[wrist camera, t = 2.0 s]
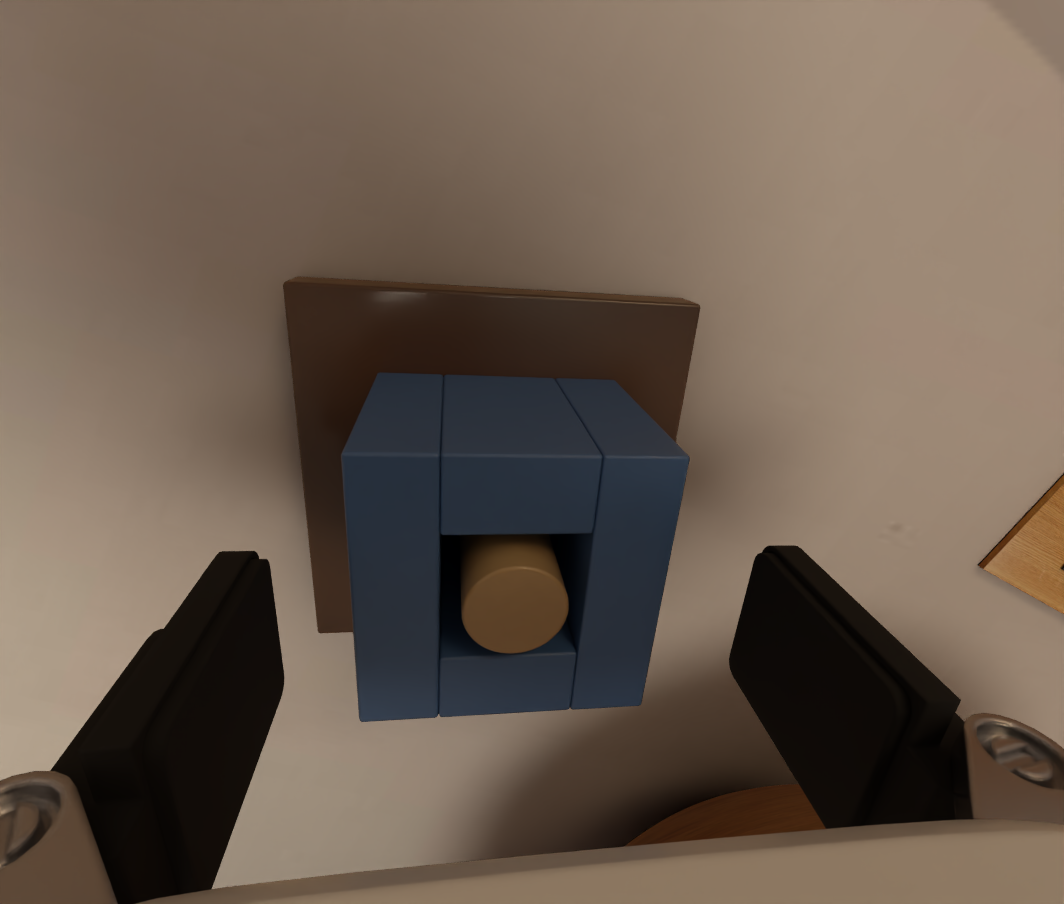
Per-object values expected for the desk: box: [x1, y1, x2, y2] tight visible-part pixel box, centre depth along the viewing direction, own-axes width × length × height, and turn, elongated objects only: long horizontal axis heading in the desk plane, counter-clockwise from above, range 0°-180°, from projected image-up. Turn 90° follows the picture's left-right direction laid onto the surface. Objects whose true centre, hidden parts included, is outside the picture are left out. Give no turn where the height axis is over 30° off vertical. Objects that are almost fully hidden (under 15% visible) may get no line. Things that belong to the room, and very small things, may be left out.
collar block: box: [341, 372, 689, 722], centre depth 13 cm, size 6×6×5 cm
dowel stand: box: [283, 276, 700, 654], centre depth 13 cm, size 10×10×7 cm
